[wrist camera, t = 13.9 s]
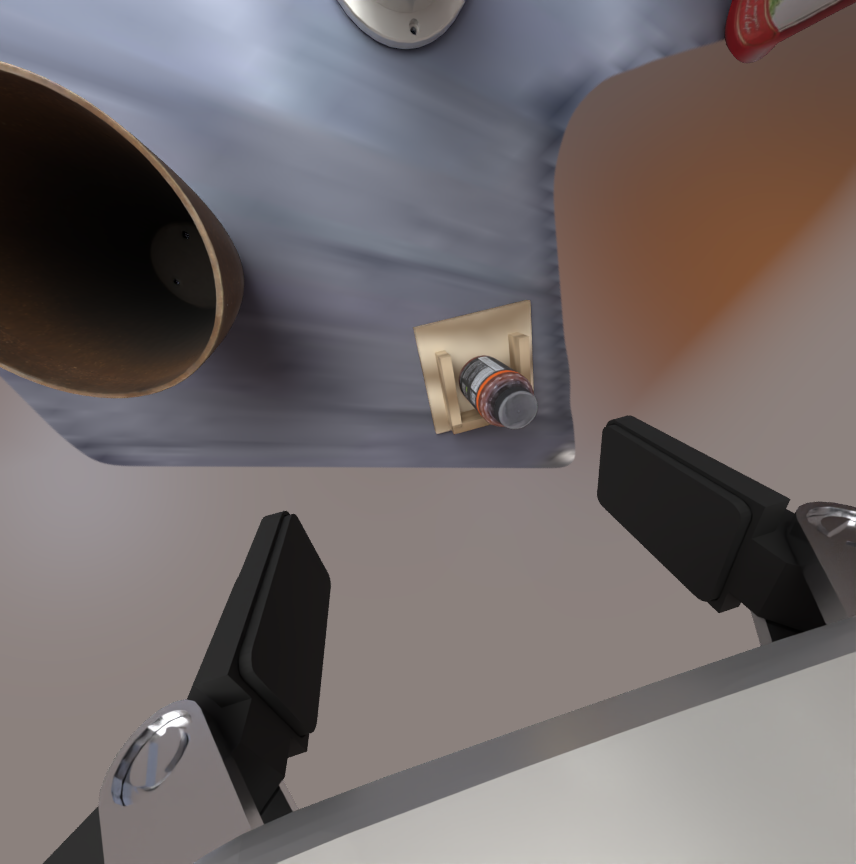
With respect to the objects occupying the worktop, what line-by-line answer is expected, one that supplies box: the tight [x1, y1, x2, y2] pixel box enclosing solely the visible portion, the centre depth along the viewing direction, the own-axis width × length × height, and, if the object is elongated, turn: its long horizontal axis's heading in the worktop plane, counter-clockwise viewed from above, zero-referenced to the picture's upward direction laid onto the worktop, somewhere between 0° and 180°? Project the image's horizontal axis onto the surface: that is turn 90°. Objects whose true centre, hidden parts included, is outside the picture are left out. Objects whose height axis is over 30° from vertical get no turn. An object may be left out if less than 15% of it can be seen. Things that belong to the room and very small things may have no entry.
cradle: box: [413, 300, 534, 434], centre depth 38 cm, size 14×14×4 cm
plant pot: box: [0, 61, 244, 398], centre depth 23 cm, size 15×15×16 cm
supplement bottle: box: [459, 355, 538, 429], centre depth 34 cm, size 6×6×11 cm
